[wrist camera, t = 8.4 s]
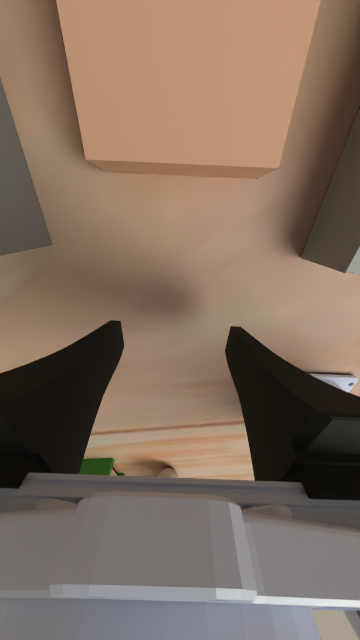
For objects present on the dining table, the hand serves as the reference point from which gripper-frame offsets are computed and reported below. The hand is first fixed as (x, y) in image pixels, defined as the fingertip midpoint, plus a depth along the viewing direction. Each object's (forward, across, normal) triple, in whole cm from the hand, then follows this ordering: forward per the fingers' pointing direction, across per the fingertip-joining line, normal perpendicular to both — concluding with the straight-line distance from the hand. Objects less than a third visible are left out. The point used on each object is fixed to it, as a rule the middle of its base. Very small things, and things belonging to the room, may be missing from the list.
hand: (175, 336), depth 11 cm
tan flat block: (+4, 0, -12) cm, 13 cm away
